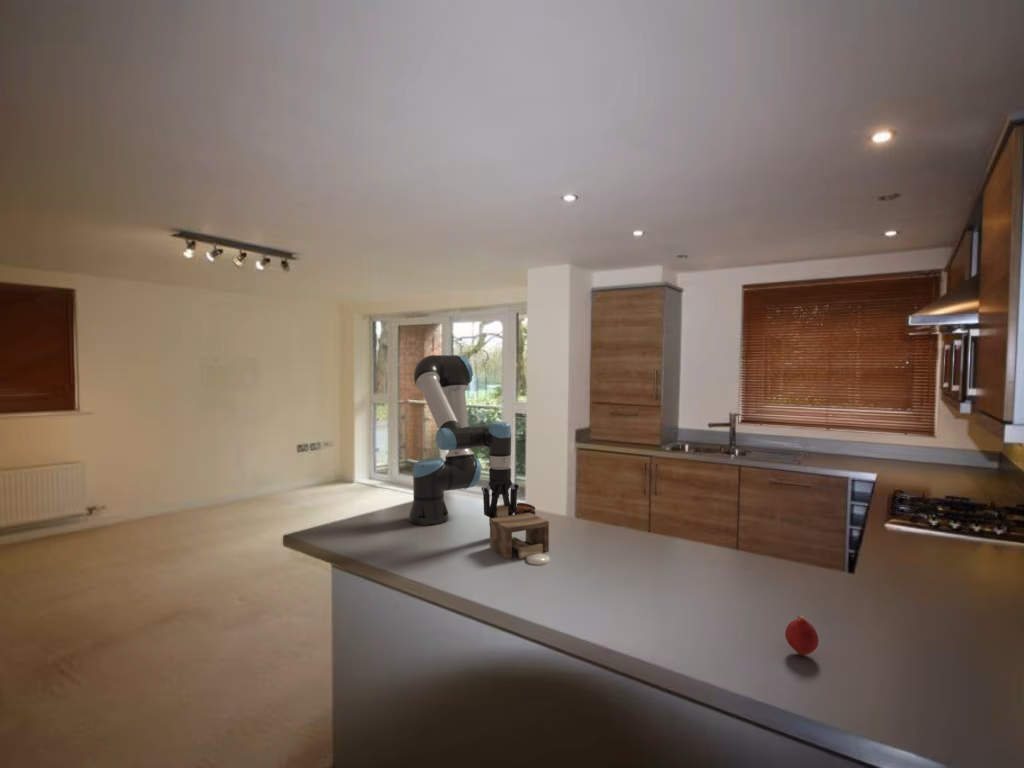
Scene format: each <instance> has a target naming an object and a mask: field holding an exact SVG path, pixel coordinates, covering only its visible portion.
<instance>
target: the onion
mask: <svg viewBox="0 0 1024 768" xmlns="http://www.w3.org/2000/svg"><path fill="white" fill-rule="evenodd" d="M784 633H785V640H786V642H787V644H788V645H789V646H790V647H791V648H792V649H793V650H794V651H795V652H796V653H797V654H798V655H799V656H803V655H804V656H806V655H810V654H811V653H813V652H815V650H816V649H817V647H818V646H819V641H820V640H819V635H818V633H817V631H816V629H815V628H814V626H813V625H812V624H811V623H810V622H809V621H807V619H806V618H805V617H804V616H803V615H797V618H796V619H794V620H792V621H790V622H789V624H787V626H786V628H785V632H784Z"/></svg>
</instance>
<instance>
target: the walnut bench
mask: <svg viewBox="0 0 1024 768" xmlns="http://www.w3.org/2000/svg"><path fill="white" fill-rule="evenodd" d="M549 524H550V521H549V520H546V519H545V518H542V517H541V516H538V515H536V514H535V515H534V514H532V513H523V514H517V515H514V514H513V515H510V516H504V517H498V518H491V519H490V525H489V548H490V547H491V548H492V549H491V548H490V549H491V550H493V549H494V550H495V553H497V552H498V553H497V554H498V555H500V554H501V555H500V556H502V557H503V556H504V557H503V558H505V559H506V558H507V559H506V560H511V559H512V558H513V547H512V536H513V533H517V532H522V531H525V542H527V543H528V542H529V544H530V543H531V544H530V545H535V544H542V545H543V552H544V551H546V552H549V551H550V542H549V541H550V532H549V531H550V525H549ZM494 550H493V551H494Z"/></svg>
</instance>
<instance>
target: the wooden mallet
mask: <svg viewBox="0 0 1024 768" xmlns="http://www.w3.org/2000/svg"><path fill="white" fill-rule="evenodd" d="M504 516H508V507H507V506H505V505H504V503H502V504H501V503H500V504H497V508H496V513H495V517H496V518H498V517H504ZM513 548H514V549H515V550H516V551H518V554H517V556H518V558H519V559H520V560H522V559H527V556H529V555H532V554H544V551H543V545H542V544H535V545H532V544H528V542H527V543H526V541H523V540H521V539H519V538H517V537H516V536H514V535H512V549H513Z"/></svg>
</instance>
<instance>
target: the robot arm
mask: <svg viewBox="0 0 1024 768" xmlns="http://www.w3.org/2000/svg"><path fill="white" fill-rule="evenodd" d="M472 366H473V365H472V363H471V361H470V360H469V359H468V357H466V356H463V355H457V354H455V355H454V354H453V355H449V354H448V355H446V354H445V355H443V354H442V355H436V354H431V355H427V356H425V357H423V358H422V359H420V360H419V362H418V363H417V364H416V366H415V368H414V372H413V381H414V384H415V385H416V388H417V389H418V390H419V391H420V392H421V393H422V395H423V398H424V400H425V402H426V404H427V406H428V407H427V408H428V410H429V411H430V413H431V415H432V418H433V420H434V422H435V424H436V427H437V432H436V434H435V441H436V446H437V447H438V448H439V450H441V451H448V452H446V453H447V454H446V455H445V456H444V457H445V458H442V457H429V458H424V459H421V460H419V461H416V462H415V463H414V465H413V470H412V471H413V472H412V480H413V482H412V483H413V486H412V487H413V488H412V489H413V492H412V493H413V494H412V495H413V502H412V505H411V508H410V510H409V515H408V521H410V522H409V523H411V524H414V525H417V524H419V525H420V526H430V525H429V524H434V525H439V523H440V524H443V523H445V521H446V522H447V521H448V520H449V519H448V518H449V511H448V507H447V505H446V502H445V492H446V491H455V490H462V489H463V490H466V489H470V488H474V487H476V486H477V485H478V483H479V481H480V479H481V476H482V475H481V474H482V465H481V463H480V460H479V458H476V457H475V453H474V452H473V451H472V450H471V449H473V448H474V449H476V448H487V449H488V452H489V454H488V455H489V456H488V459H489V460H488V461H489V462H488V464H489V465H488V466H489V467H490V468H489V469H488V474H489V475H488V478H489V482H488V485H486V486H482V487H481V491H482V495H483V514H484V516H486V517H487V518H489V519H488V520H489V522H488V523H489V526H490V519H491V518H496V517H495V513H496V508H497V505H498V502H499V501H498V500H499V499H500V496H502V501H503V505H505V506H507V507H508V516H510V515H514V513H516V506H517V503H518V501H517V499H518V498H517V497H518V496H517V494H518V492H517V491H518V489H519V486H520V485H519V484H517V483H514V482H512V480H511V478H512V468H511V466H512V431H511V430H512V429H511V424H510V422H506V421H505V422H504V421H493V422H490V423H489V425H487V424H479V425H475V426H469V425H468V421H469V420H468V413H467V412H468V411H467V401H466V400H467V399H466V390H467V389H469V384H470V383H472V380H473V376H474V371H473V370H474V369H473V367H472ZM444 459H445V460H444ZM509 490H510V491H509ZM490 491H491V492H490ZM509 492H510V493H509ZM490 493H491V496H490ZM509 496H510V497H509ZM490 497H491V498H490ZM442 522H443V523H442ZM419 525H418V526H419Z"/></svg>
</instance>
